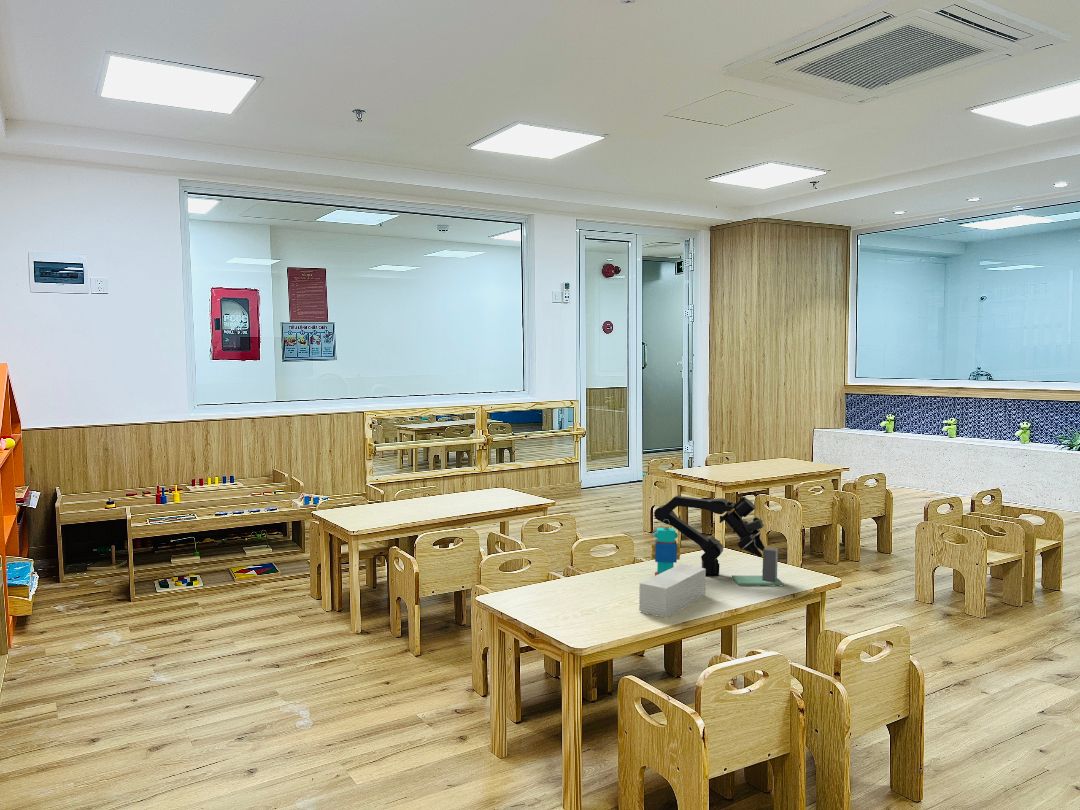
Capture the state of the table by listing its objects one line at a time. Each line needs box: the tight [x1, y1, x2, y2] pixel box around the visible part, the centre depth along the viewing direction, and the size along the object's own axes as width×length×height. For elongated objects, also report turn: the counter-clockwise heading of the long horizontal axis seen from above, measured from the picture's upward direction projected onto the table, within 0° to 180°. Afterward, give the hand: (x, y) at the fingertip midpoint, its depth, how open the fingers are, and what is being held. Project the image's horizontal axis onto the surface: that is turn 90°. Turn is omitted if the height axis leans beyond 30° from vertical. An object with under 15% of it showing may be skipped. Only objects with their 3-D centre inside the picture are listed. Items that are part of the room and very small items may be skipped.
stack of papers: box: [638, 563, 707, 619], centre depth 291 cm, size 32×11×11 cm, turn 143°
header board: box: [731, 574, 785, 587], centre depth 319 cm, size 18×11×4 cm, turn 90°
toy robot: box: [650, 519, 681, 576], centre depth 321 cm, size 12×6×25 cm, turn 84°
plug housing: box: [761, 546, 779, 582], centre depth 319 cm, size 5×5×12 cm
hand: (763, 554), depth 320 cm, fingers open, 9 cm apart
